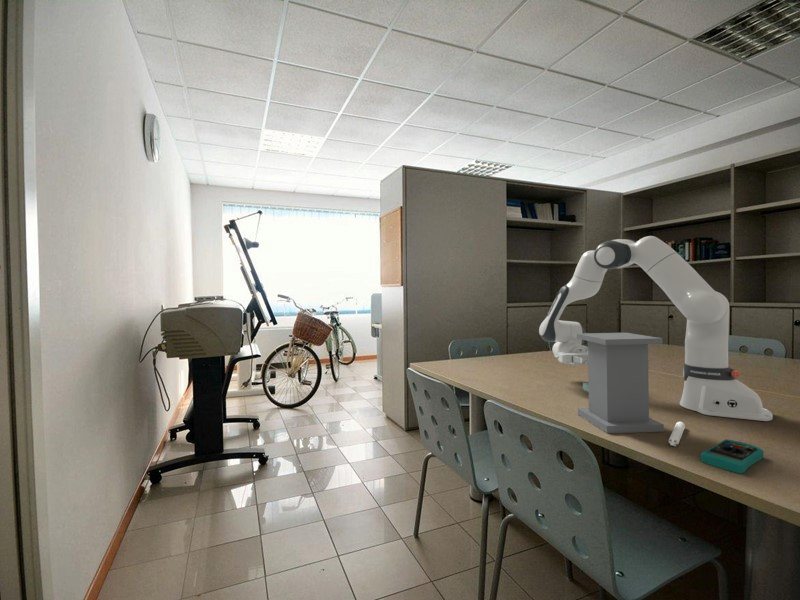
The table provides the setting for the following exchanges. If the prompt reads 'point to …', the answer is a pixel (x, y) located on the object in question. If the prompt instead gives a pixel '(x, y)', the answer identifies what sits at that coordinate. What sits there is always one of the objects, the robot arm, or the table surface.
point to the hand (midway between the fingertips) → (594, 360)
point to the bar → (586, 386)
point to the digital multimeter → (732, 456)
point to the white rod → (676, 434)
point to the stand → (619, 382)
